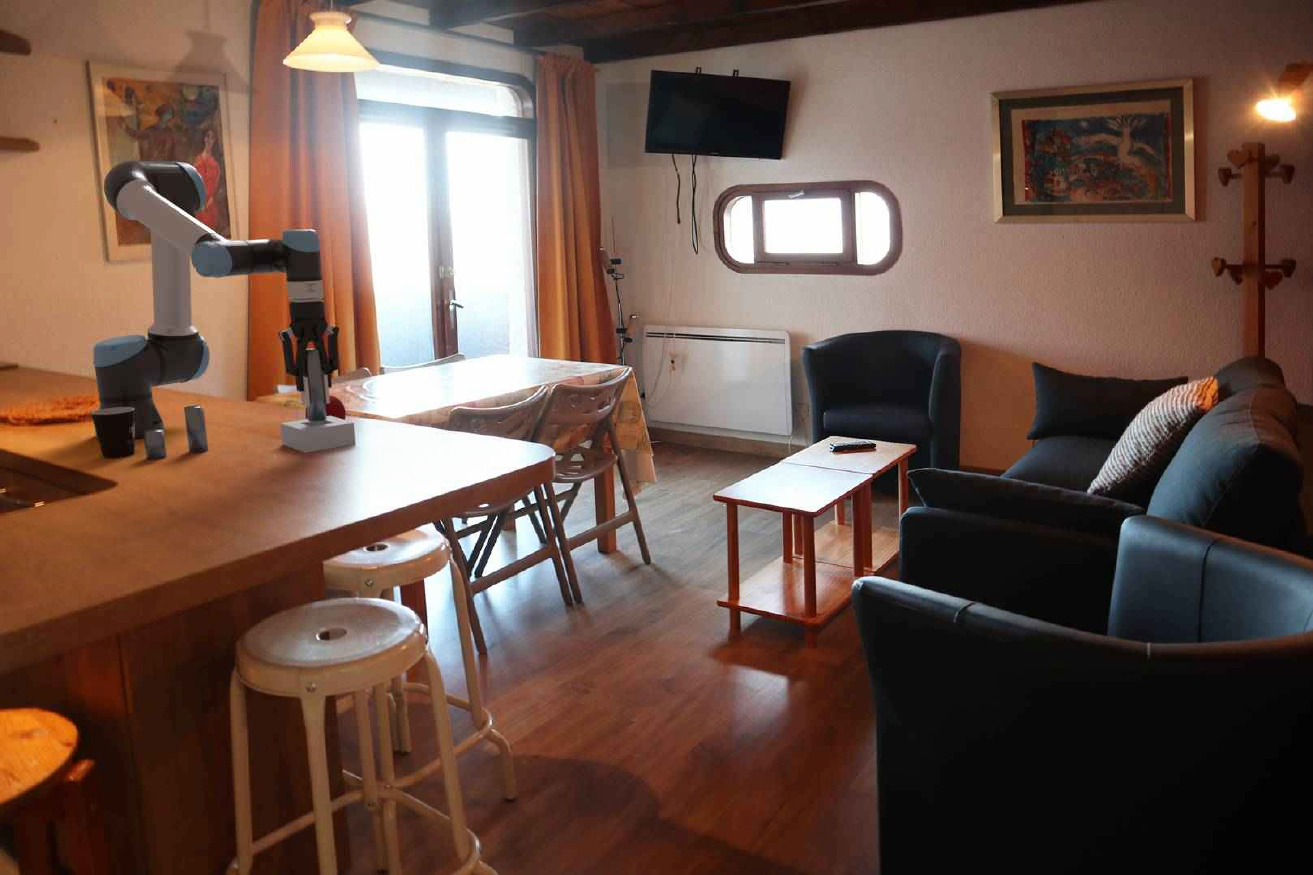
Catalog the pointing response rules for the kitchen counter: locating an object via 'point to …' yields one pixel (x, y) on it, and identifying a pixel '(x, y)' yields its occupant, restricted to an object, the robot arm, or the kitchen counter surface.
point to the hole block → (318, 434)
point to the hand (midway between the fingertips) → (315, 403)
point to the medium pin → (196, 429)
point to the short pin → (155, 444)
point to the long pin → (315, 385)
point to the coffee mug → (115, 431)
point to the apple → (334, 408)
